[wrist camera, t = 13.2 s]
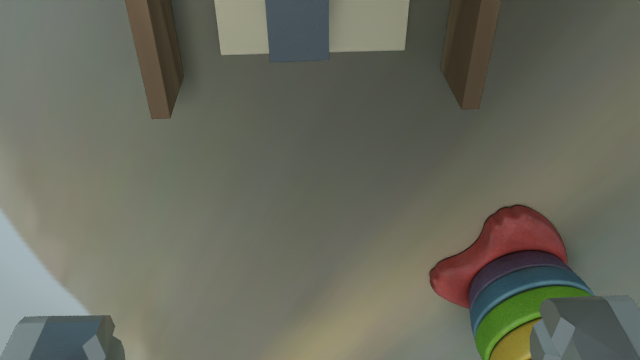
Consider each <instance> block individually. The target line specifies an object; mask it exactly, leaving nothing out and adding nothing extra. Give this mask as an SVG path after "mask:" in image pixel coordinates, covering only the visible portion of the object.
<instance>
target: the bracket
mask: <svg viewBox="0 0 640 360" xmlns="http://www.w3.org/2000/svg"><path fill="white" fill-rule="evenodd" d="M265 8H266V20H267V33H268V46H269V58H270V62H292V61H317V60H329V0H265Z"/></svg>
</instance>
